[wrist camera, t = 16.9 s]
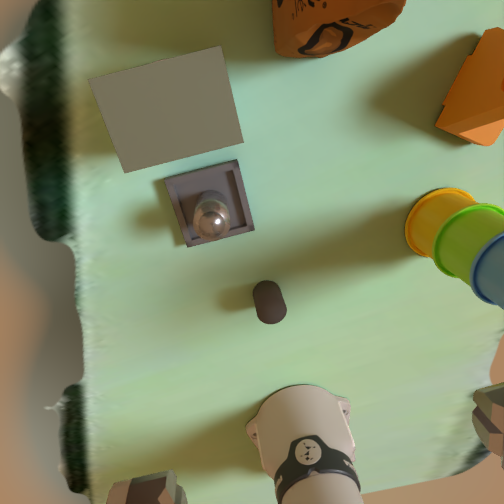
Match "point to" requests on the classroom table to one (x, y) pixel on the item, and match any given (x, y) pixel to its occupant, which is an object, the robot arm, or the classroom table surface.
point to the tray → (209, 178)
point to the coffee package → (328, 24)
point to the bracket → (478, 93)
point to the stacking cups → (461, 239)
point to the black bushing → (269, 302)
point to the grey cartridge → (211, 216)
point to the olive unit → (168, 109)
